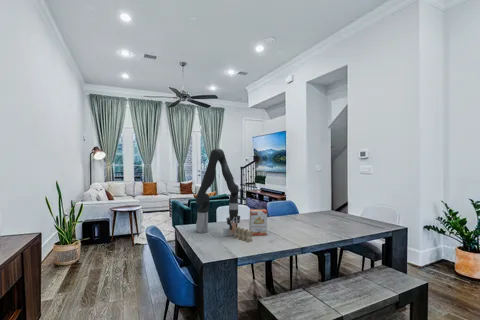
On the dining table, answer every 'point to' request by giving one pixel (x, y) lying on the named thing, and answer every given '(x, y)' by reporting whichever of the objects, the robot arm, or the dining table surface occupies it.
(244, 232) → the domino
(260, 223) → the cracker box
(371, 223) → the dining table surface
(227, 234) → the end block
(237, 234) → the domino
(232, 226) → the domino
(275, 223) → the dining table surface
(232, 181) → the robot arm
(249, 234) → the domino
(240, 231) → the domino
